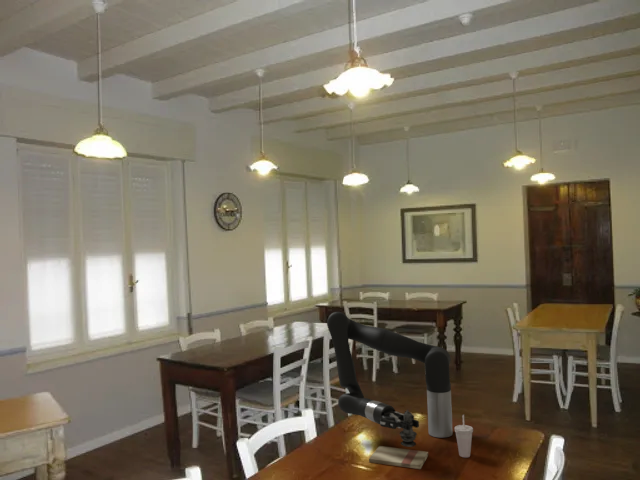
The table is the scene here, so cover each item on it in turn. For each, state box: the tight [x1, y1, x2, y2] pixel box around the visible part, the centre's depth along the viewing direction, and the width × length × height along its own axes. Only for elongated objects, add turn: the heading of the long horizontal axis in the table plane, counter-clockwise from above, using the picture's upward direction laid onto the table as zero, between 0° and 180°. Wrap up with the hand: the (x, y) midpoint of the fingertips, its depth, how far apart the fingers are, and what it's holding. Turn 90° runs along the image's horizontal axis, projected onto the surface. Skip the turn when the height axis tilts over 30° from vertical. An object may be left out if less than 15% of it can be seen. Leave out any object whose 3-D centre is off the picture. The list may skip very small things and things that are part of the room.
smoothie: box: [454, 414, 474, 458], centre depth 190 cm, size 6×6×14 cm
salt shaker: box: [399, 409, 418, 448], centre depth 188 cm, size 6×6×12 cm
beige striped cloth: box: [368, 445, 429, 470], centre depth 189 cm, size 12×18×1 cm, turn 66°
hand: (413, 425), depth 186 cm, fingers closed on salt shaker, 3 cm apart
